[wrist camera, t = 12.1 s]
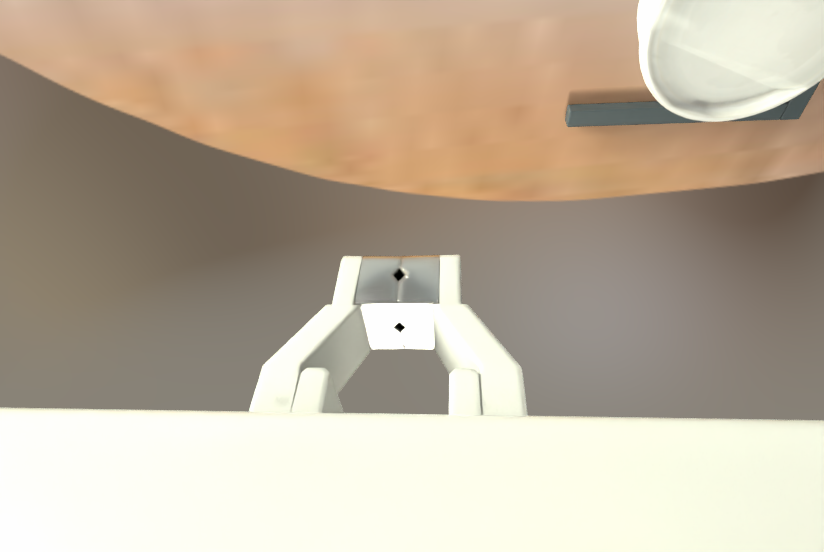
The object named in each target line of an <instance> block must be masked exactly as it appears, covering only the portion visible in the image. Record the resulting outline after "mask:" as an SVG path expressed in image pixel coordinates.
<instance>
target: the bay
mask: <svg viewBox="0 0 824 552" xmlns="http://www.w3.org/2000/svg"><path fill="white" fill-rule="evenodd" d="M819 83H820V81H819V82H818V83H817V84H815V85H814V86H812V87H811V88H809V89H808V90H806V91H805V92H803V93H801V94H800V95H798V96H796V97H795V98H793V99H791V100H789V101H787V102H785V103H783V104H781V105H779V106H777V107H775V108H772V109H770V110H767V111H765V112H762V113H759V114H756V115H752V116H749V117H745V118H741V119H735V120H730V121H753V120H779V119H780V120H788V119H799V117H800V116H801V114H802V112H803V110H804V109H805V107H806V105H807V103H808V102H809V100H810V98H811V96H812V95H813V93H814V91H815V90H816V88H817V86H818V84H819ZM565 121H566V124H567V126H568V127H579V126H608V125H637V124H666V123H695V122H703V121H697V120H691V119H687V118H684V117H681V116H679V115H677V114H675V113H672V112H671V111H669V110H667V109H666V108H665V107H663V106H662V105H661V104H660V103H659V102H658V101H653V102H627V103H601V104H575V105H568V107H567V112H566V118H565ZM721 122H724V121H721Z"/></svg>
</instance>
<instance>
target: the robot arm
mask: <svg viewBox="0 0 824 552" xmlns="http://www.w3.org/2000/svg"><path fill="white" fill-rule="evenodd" d="M402 348H403V349H405V348H406V349H435V352H436V353H437V355H438V356H439V358H440V360H441V361H442V363H443V364H444V366H445V367H446V369H447V371H448V372H449V375H450V378H449V381H450V382H449V415H438V414H437V415H436V414H435V415H434V414H372V413H369V414H368V413H344V412H343V409H342V406H341V403H340V400H339V398H338V393H339V392H340V391H341V389H342V388H343V387H344V385H345V384H346V383H347V381H348V380H349V379H350V377H351V376H352V375H353V373H354V372H355V371H356V370H357V368H358V367H359V366H360V364H361V363H362V362H363V360H364V359H365V358H366V356H367V355H368V354H369V352H370V349H402ZM0 552H824V420H765V419H763V420H762V419H761V420H760V419H700V418H696V419H695V418H636V417H634V418H633V417H571V416H570V417H569V416H565V417H564V416H528V415H527V407H526V399H525V391H524V383H523V375H522V368H521V367H520V366H519V364H518V363H517V362H516V361H515V360H514V359H513V357H512V356H511V355H510V354H509V353H508V351H507V350H506V349H505V348H504V347H503V345H501V343H500V342H499V341H498V340H497V338H496V337H495V336H494V335H493V334H492V332H491V331H490V330H489V329H488V328H487V327H486V325H485V324H484V323H483V322H482V321H481V320H480V318H479V317H478V316H477V315H476V314H475V312H474V311H473V310H472V309H471V308H470V306H469V305H467V304H465V305H464V304H462V288H461V257H460V255H440V256H439V255H434V256H433V255H432V256H344V257H343V259H342V260H341V265H340V270H339V274H338V279H337V284H336V288H335V293H334V298H333V303H332V305H326V306H325V307H324V308H323V309H322V310H321V311H320V312H318V313H317V314H316V315H315V316H314V317H313V318H312V319H311V320H310V321H309V322H308V323H307V324H306V325H305V326H304V327H303V328H302V329H301V330H300V331H299V332H298V333H297V334H295V335H294V336H293V337H292V338H291V339H290V340H289V341H288V342H287V343H286V344H285V345H284V346H283V347H282V348H281V349H280V350H279V351H278V352H277V353H276V354H275V355H274V356H272V357H271V358H270V359H269V360H268V361H267V362H266V363H265V364H264V365H263V368H262V370H261V374H260V377H259V380H258V384H257V387H256V390H255V393H254V396H253V400H252V403H251V406H250V409H249V412H240V411H179V410H178V411H177V410H173V411H172V410H114V409H53V408H52V409H51V408H0Z"/></svg>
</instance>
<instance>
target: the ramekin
mask: <svg viewBox="0 0 824 552" xmlns="http://www.w3.org/2000/svg"><path fill="white" fill-rule="evenodd" d="M637 22H638V27H637V29H638V36H639V42H640V43H639V60H640V67H641V71H642V75H643V78H644V81H645V83H646V85H647V87H648V89H649V90H650V92H651V93H652V95H653V96H654V97H655V99H656V100H657V101H658V102H659V103H660V104H661V105H662V106H663V107H665V108H666V109H667V110H669V111H671V112H672V113H675V114H677V115H679V116H681V117H684V118H687V119H691V120H697V121H703V122H721V121H730V120H735V119H741V118H745V117H749V116H752V115H756V114H759V113H762V112H765V111H767V110H770V109H772V108H775V107H777V106H779V105H781V104H783V103H785V102H787V101H789V100H791V99H793V98H795V97H796V96H798V95H800V94H801V93H803V92H805V91H806V90H808V89H809V88H811V87H812V86H814V85H815V84H817V83H818V82H819V81H821V80H822V79H823V78H824V0H640V2H639V5H638V15H637Z"/></svg>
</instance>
